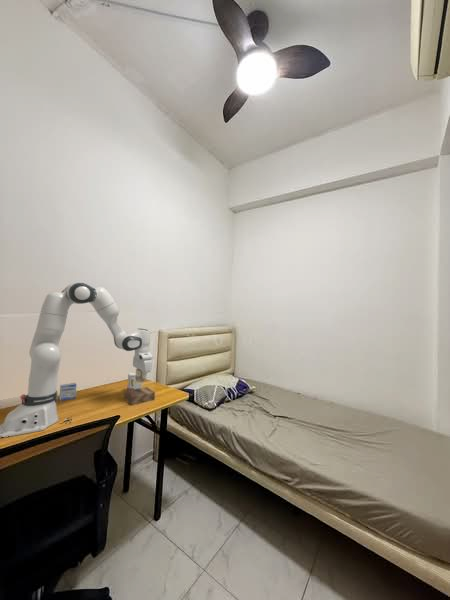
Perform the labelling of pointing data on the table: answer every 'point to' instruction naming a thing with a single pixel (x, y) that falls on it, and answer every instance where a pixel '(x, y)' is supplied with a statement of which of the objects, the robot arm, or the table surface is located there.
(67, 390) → the medicine box
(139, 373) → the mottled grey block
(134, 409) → the table surface
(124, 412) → the table surface
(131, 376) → the ink box
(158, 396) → the table surface
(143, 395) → the walnut block
